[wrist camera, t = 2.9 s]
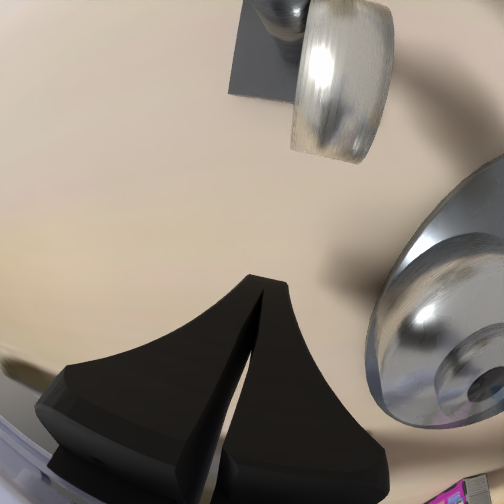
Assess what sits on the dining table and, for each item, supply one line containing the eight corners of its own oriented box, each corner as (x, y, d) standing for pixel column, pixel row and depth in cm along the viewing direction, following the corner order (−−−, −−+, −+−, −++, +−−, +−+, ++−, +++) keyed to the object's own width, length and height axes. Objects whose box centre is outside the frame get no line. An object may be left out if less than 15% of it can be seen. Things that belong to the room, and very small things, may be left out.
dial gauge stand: (339, 143, 10) (383, 184, 4) (229, 123, 10) (118, 141, 4) (359, 16, 7) (409, -88, 1) (249, 0, 8) (172, -102, 2)
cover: (471, 381, 12) (490, 438, 8) (347, 370, 13) (349, 444, 9) (545, 255, 8) (593, 304, 5) (415, 208, 9) (465, 263, 5)
